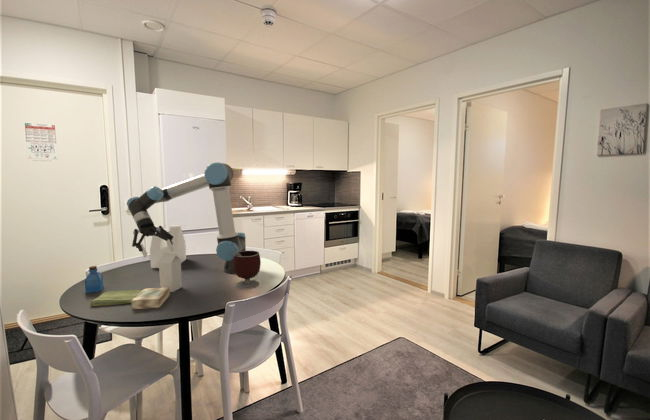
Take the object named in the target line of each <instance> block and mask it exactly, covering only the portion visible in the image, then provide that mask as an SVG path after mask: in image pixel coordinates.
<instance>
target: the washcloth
mask: <svg viewBox="0 0 650 420" xmlns="http://www.w3.org/2000/svg"><path fill="white" fill-rule="evenodd" d="M141 291H142V290H140V289H131V290H129V289H128V290H114V291H112V290H111V291H105V292H103V293H101V294H100V295H99V296H98V297H95V299H92V300H91V302H90V303H89V304H90V306H91V307H105V306H106V307H107V306H115V305H125V304H127V305H129V304H132V302H131V300H132V299H134V298H135V297H136V296H137V295H138V294H139V293H140V292H141Z"/></svg>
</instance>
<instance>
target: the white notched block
mask: <svg viewBox="0 0 650 420" xmlns="http://www.w3.org/2000/svg"><path fill="white" fill-rule="evenodd" d="M154 226H155V227H159V226H160V225H154ZM161 226H162V228H163V229H164V230H166V231H167V229H166V226H165V225H161ZM168 233H169V234H171V235H172V236H173V239H172V240H171V241H172V243H173V245H172V246H173V248H174V250H173V252H171V251H170V249H169V247H168V245H167V243H166V242H167V241H165V240H163V239H161V238H159V237H157V236H154V235H153V236H151V237H152V238H151V242H150V248H149V258H150V259H149V260H150V269H159V261H160V259H161V258H162V256H163V253H176V256H177V257H179V258H180V259H181V264H182V263H183V262H185V261H186V259H187V249H186V248H187V247H186V240H185V237H184V233H183V230H182V226H181V225H170V226H169V232H168ZM155 234H156V232H155Z"/></svg>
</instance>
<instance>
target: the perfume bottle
mask: <svg viewBox="0 0 650 420" xmlns="http://www.w3.org/2000/svg"><path fill="white" fill-rule="evenodd" d="M103 279H104V278H103V274H102V273H101V272H100V271H98V268H97V265H93V266H92V265H91V266H89V267H88V274H87V276H86V278H85V279H84V288H85V294H89V293H97V292H102V291H103V288H104V280H103Z"/></svg>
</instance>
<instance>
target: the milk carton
mask: <svg viewBox="0 0 650 420" xmlns="http://www.w3.org/2000/svg"><path fill="white" fill-rule="evenodd" d="M158 270H159V271H158V272H159V285H160V287H159V288H164V287H169V291H170V293H174V292H176V291H177V290H180V289H181V288H183V277H182V263H181V259H180V258H179V257H177V256H176V253H163V256H162V258H161V259H160V261H159V268H158Z"/></svg>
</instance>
